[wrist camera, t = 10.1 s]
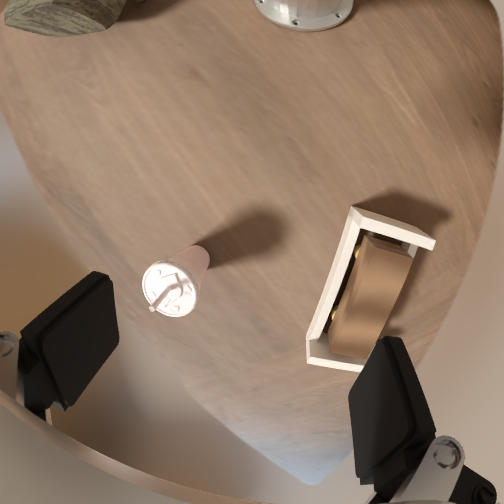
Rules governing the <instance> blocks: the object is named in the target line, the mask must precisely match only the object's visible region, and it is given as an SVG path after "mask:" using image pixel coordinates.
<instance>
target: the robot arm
mask: <svg viewBox="0 0 504 504" xmlns="http://www.w3.org/2000/svg"><path fill="white" fill-rule="evenodd" d="M353 1H354V0H254V2H255V5H256V6H257V8H258V10H259V11H260V12H261V13H262V14H263V16H265V17H266V18H267V19H269V20H270V21H272V22H274V23H275V24H277V25H280V26H282V27H285V28H288V29H292V30H297V31H307V32H308V31H321V30H327V29H329V28H332V27H335V26H337V25H339V24H340V23H342V22H343V21H344V20H345V19H346V18H347V17H348V15H349V14H350V12H351V10H352V7H353ZM261 2H263V3H261ZM338 17H339V18H338ZM294 24H297V25H294ZM20 333H21V336H22V338H21V339H20V340H19V339H18V337H17V335H15V334H14V333H12V332H10V331H1V332H0V504H271V503H263V502H256V501H249V500H243V499H237V498H231V497H227V496H222V495H217V494H213V493H208V492H204V491H200V490H196V489H193V488H189V487H186V486H182V485H179V484H176V483H172V482H169V481H166V480H163V479H160V478H157V477H155V476H152V475H149V474H147V473H144V472H141V471H139V470H136V469H134V468H131V467H129V466H127V465H124V464H122V463H120V462H118V461H115V460H113V459H111V458H109V457H107V456H105V455H103V454H101V453H99V452H96V451H95V450H93V449H91V448H89V447H87V446H85V445H83V444H82V443H80V442H78V441H76V440H74V439H73V438H71V437H69V436H68V435H66V434H64V433H63V432H61V431H59V430H58V429H56V428H55V427H53V426H52V423H51V415H50V406H51V405H52V403H53V404H54V405H55V406H56V407H58V408H60V409H61V410H63V411H66V409H67V408H68V406H72V405H74V403H75V402H76V401H77V399H78V398H79V396H80V395H81V394H82V392H83V391H84V390H85V388H86V387H87V385H88V384H89V383H90V381H91V380H92V379H93V377H94V376H95V375H96V373H97V372H98V370H99V369H100V368H101V366H102V365H103V364H104V363H105V361H106V360H107V359H108V357H109V356H110V355H111V353H112V352H113V351H114V349H115V348H116V347H117V345H118V343H119V331H118V325H117V317H116V309H115V300H114V290H113V282H112V281H111V280H110V278H109V276H108V275H107V274H103V273H100V272H97V271H93V272H91V273H90V274H89V275H87V276H86V277H85V278H83V279H82V280H81V281H80V282H78V283H77V284H76V285H75V286H73V287H72V288H71V289H69V290H68V291H67V292H66V293H65V294H63V295H62V296H61V297H60V298H58V299H57V300H56V301H55V302H54V303H52V304H51V305H50V306H49V307H48V308H46V309H45V310H44V311H43V312H42V313H41V314H39V315H38V316H37V317H36V318H35V319H34V320H32V321H31V322H30V323H29V324H28V325H27V326H26V327H25V328H24V329H22V330H21V331H20ZM348 401H349V409H350V417H351V426H352V436H353V446H354V458H355V471H356V476H357V477H358V478H360V485H367V484H374V492H373V493H372V495H371V496H370V497H369V498H368V500H367V501H366V502H365V503H364V504H495V503H496V499H497V493H496V489H495V487H494V486H493V484H492V483H491V482H489V481H488V480H486V479H485V478H483V477H482V476H480V475H479V474H477V473H475V472H474V471H473V470H471V469H469V468H468V467H466V466H465V465H464V460H465V455H464V450H463V447H462V446H461V444H460V443H459V442H458V441H457V440H455V439H454V438H452V437H450V436H439V437H437V438H436V437H435V432H436V428H435V425H434V422H433V419H432V416H431V413H430V410H429V407H428V404H427V401H426V398H425V396H424V393H423V390H422V388H421V385H420V382H419V380H418V377H417V374H416V372H415V369H414V367H413V364H412V362H411V359H410V357H409V355H408V352H407V350H406V348H405V345H404V343H403V341H402V339H401V338H399V337H392V336H385V337H384V338H383V339H380V340H378V342H377V343H376V345H375V347H374V349H373V351H372V353H371V355H370V357H369V358H368V360H367V362H366V364H365V366H364V367H363V369H362V371H361V373H360V374H359V376H358V378H357V380H356V381H355V383H354V385H353V386H352V388H351V390H350V392H349V396H348ZM496 504H500V503H499V502H498V503H496Z"/></svg>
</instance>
